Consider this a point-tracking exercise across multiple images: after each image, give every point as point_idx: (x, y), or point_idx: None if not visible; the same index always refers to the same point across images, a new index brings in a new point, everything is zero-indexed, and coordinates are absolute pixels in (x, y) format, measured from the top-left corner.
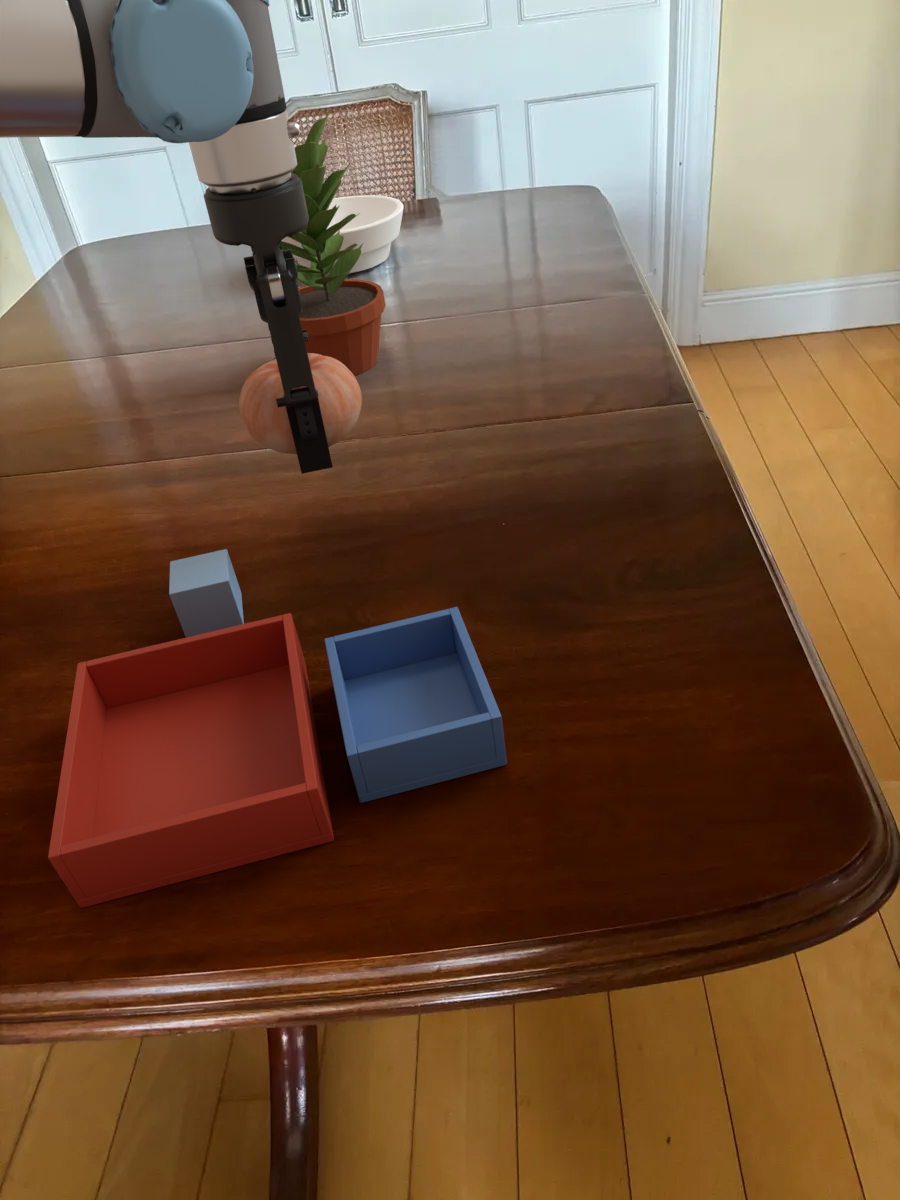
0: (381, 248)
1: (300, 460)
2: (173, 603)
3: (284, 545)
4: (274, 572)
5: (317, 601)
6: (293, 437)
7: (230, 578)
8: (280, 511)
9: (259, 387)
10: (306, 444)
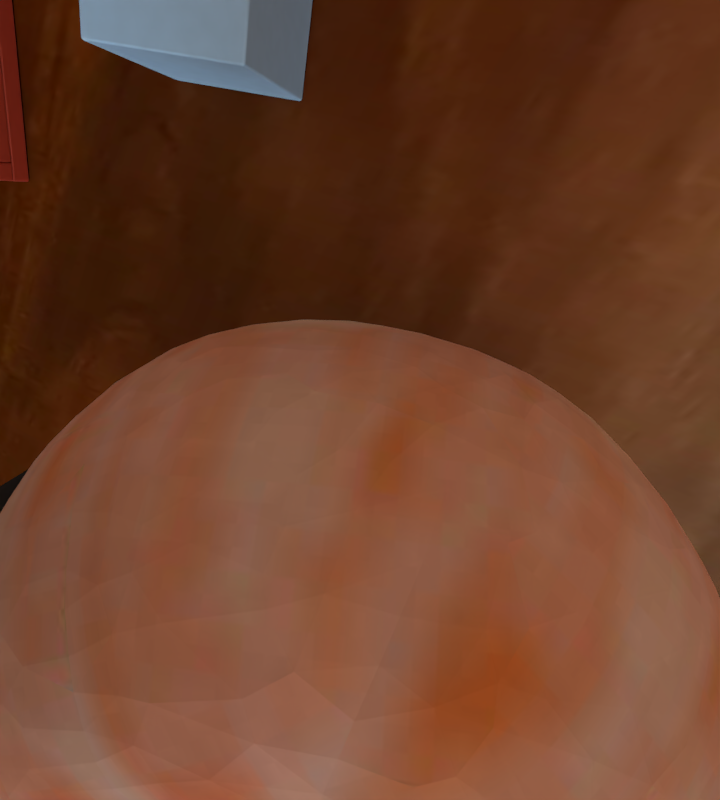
0: None
1: None
2: None
3: (445, 262)
4: (346, 205)
5: (198, 263)
6: (5, 485)
7: (135, 53)
8: (619, 302)
9: (81, 624)
10: None
